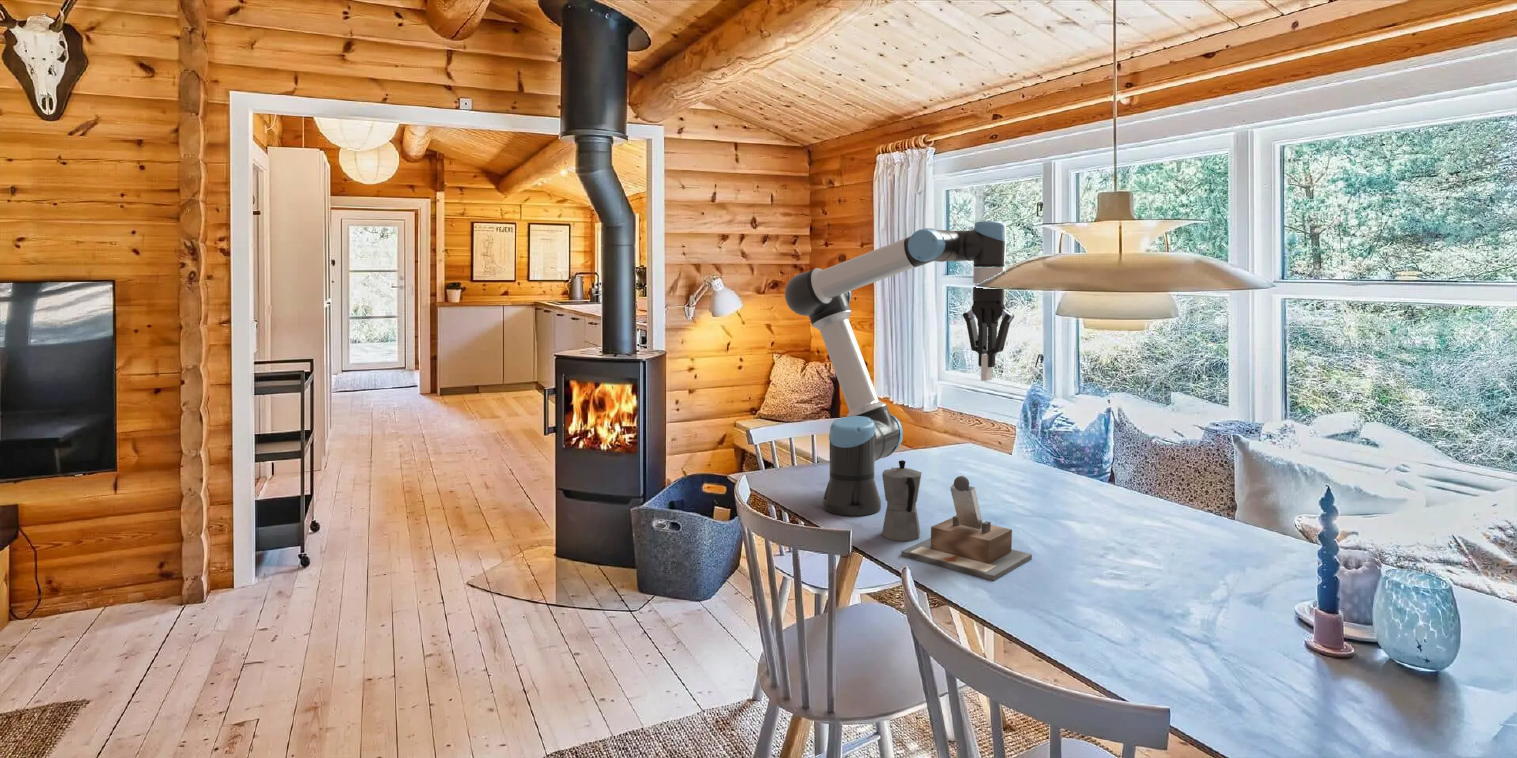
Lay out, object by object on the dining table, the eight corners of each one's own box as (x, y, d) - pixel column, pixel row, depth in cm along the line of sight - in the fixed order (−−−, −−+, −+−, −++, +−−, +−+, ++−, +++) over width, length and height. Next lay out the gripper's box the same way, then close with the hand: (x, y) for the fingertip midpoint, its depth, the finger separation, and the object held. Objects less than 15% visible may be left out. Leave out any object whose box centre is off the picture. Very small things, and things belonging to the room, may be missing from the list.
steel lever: (957, 526, 181) (946, 479, 176) (964, 518, 183) (953, 471, 178) (977, 531, 177) (967, 483, 172) (984, 522, 179) (974, 475, 174)
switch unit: (901, 555, 181) (901, 520, 180) (942, 536, 193) (942, 503, 192) (993, 580, 166) (994, 542, 165) (1031, 558, 178) (1033, 522, 177)
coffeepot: (874, 527, 201) (875, 454, 198) (912, 525, 202) (913, 453, 199) (891, 548, 186) (892, 470, 183) (932, 546, 187) (933, 468, 184)
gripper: (1020, 284, 202) (1017, 380, 205) (972, 284, 211) (970, 376, 214) (1006, 285, 196) (1003, 383, 200) (957, 285, 205) (955, 379, 208)
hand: (986, 379), depth 207 cm, fingers closed
